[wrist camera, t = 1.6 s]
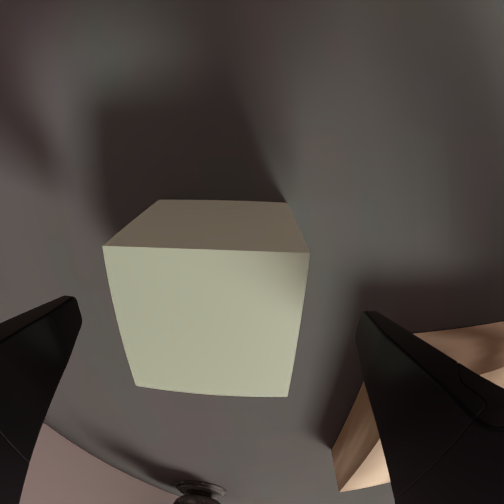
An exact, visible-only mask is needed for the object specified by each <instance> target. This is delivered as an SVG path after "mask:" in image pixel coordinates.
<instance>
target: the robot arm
mask: <svg viewBox="0 0 504 504" xmlns="http://www.w3.org/2000/svg"><path fill="white" fill-rule="evenodd" d="M81 325H82V317H81V313H80V310H79V306H78V303H77V300H76V298H75V297H72V296H62V297H60V298H57V299H55V300H53V301H50V302H48V303H46V304H43V305H41V306H39V307H36V308H34V309H32V310H29V311H27V312H25V313H22V314H20V315H18V316H16V317H13V318H11V319H9V320H7V321H4V322H2V323H0V504H19V503H20V498H21V494H22V490H23V486H24V482H25V478H26V475H27V471H28V468H29V463H30V460H31V457H32V454H33V451H34V448H35V444H36V441H37V438H38V436H39V433H40V430H41V427H42V424H43V422H44V419H45V416H46V414H47V411H48V408H49V406H50V403H51V401H52V398H53V396H54V393H55V391H56V389H57V386H58V384H59V382H60V379H61V377H62V375H63V372H64V370H65V368H66V366H67V363H68V361H69V358H70V356H71V353H72V350H73V347H74V344H75V341H76V339H77V336H78V333H79V330H80V328H81ZM356 344H357V349H358V354H359V359H360V364H361V370H362V375H363V380H364V384H365V388H366V391H367V394H368V398H369V401H370V404H371V408H372V411H373V415H374V418H375V422H376V426H377V429H378V433H379V437H380V441H381V444H382V448H383V452H384V456H385V460H386V464H387V468H388V473H389V477H390V481H391V486H392V490H393V495H394V499H395V500H394V501H395V504H504V388H502V387H500V386H498V385H496V384H494V383H493V382H491V381H489V380H487V379H485V378H484V377H482V376H480V375H478V374H477V373H475V372H473V371H472V370H470V369H468V368H467V367H465V366H464V365H462V364H460V363H457V361H456V360H454V359H452V358H451V357H449V356H448V355H446V354H444V353H443V352H441V351H440V350H438V349H436V348H435V347H433V346H432V345H430V344H428V343H427V342H425V341H424V340H422V339H420V338H419V337H417V336H416V335H414V334H412V333H411V332H409V331H407V330H406V329H404V328H403V327H401V326H399V325H398V324H396V323H394V322H393V321H391V320H390V319H388V318H386V317H385V316H383V315H381V314H380V313H378V312H376V311H364V312H363V313H362V314H361V317H360V320H359V324H358V328H357V331H356Z"/></svg>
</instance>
